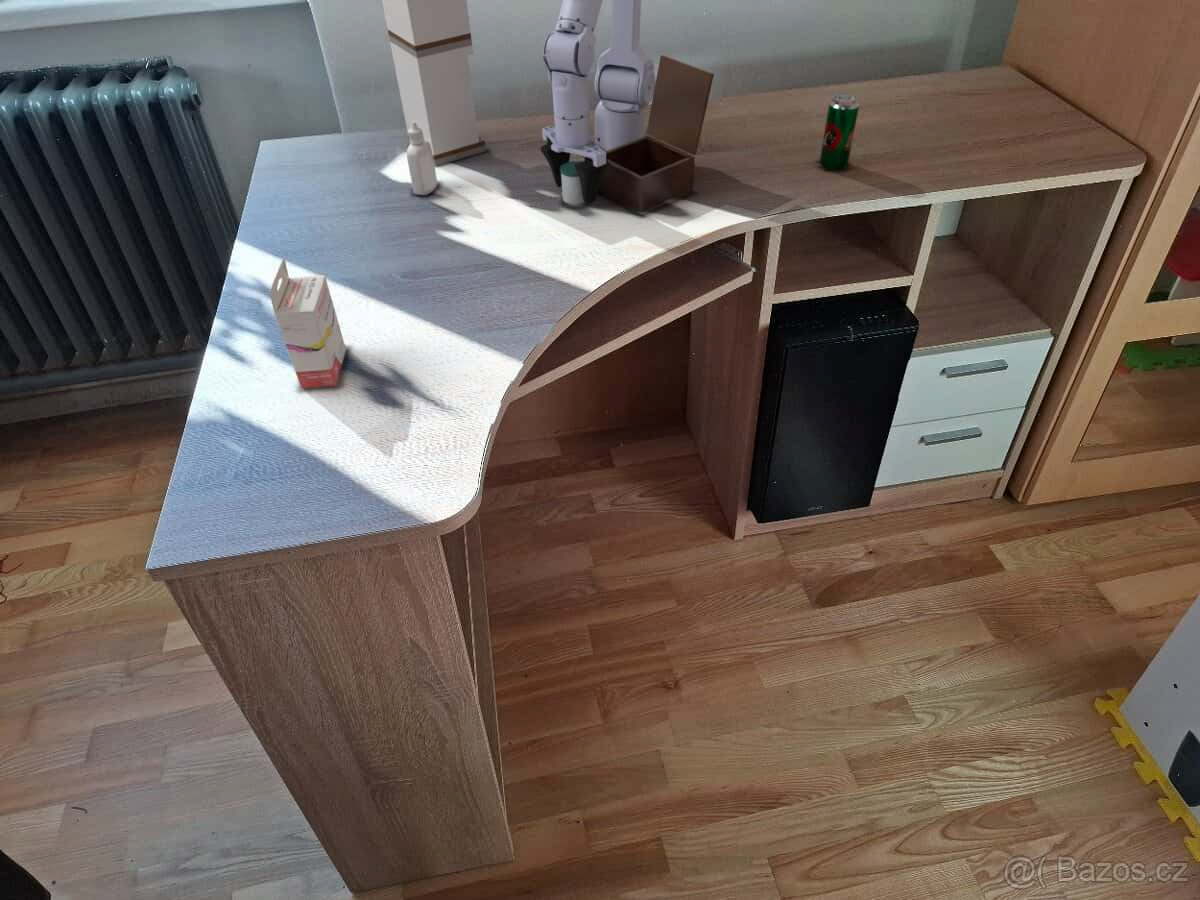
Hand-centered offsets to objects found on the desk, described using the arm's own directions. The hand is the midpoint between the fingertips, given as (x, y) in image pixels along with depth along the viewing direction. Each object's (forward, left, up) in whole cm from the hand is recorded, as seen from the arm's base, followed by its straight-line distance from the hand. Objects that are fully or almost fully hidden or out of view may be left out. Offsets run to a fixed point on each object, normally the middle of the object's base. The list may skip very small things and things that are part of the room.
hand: (575, 192), depth 140 cm
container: (0, 0, -2) cm, 2 cm away
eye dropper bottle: (-22, -17, -2) cm, 28 cm away
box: (+6, +11, -2) cm, 12 cm away
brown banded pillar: (-34, -5, -2) cm, 34 cm away
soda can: (+21, +43, -2) cm, 48 cm away
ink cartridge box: (+14, -54, -2) cm, 56 cm away
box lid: (+6, +18, +12) cm, 22 cm away
